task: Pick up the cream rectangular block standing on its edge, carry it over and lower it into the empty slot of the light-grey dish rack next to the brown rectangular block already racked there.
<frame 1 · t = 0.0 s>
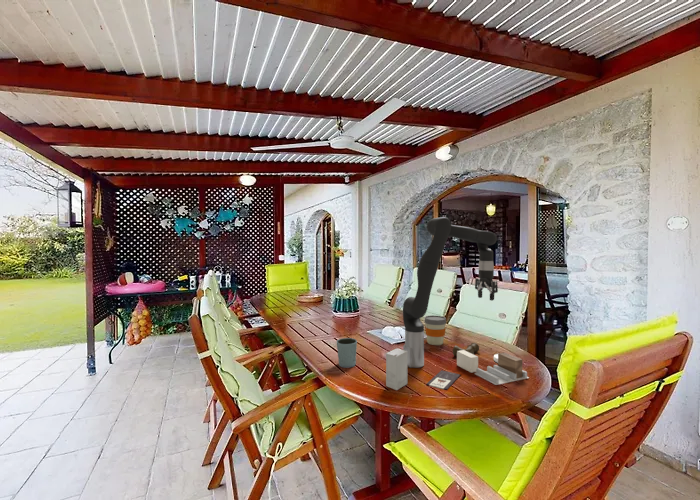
hand: (485, 298, 188), 29 cm above the table, tool pointing down, fingers open, 8 cm apart
kendama: (466, 356, 185), on the table
dish rack: (501, 377, 156), on the table
skincare box: (396, 386, 149), on the table
cream rectangular block: (467, 370, 165), on the table
white round tin: (504, 364, 174), on the table
brown rectangular block: (509, 373, 158), resting on dish rack
reusable coffee cup: (435, 343, 207), on the table
chocolate bar: (443, 381, 154), on the table
grey cup: (346, 364, 174), on the table
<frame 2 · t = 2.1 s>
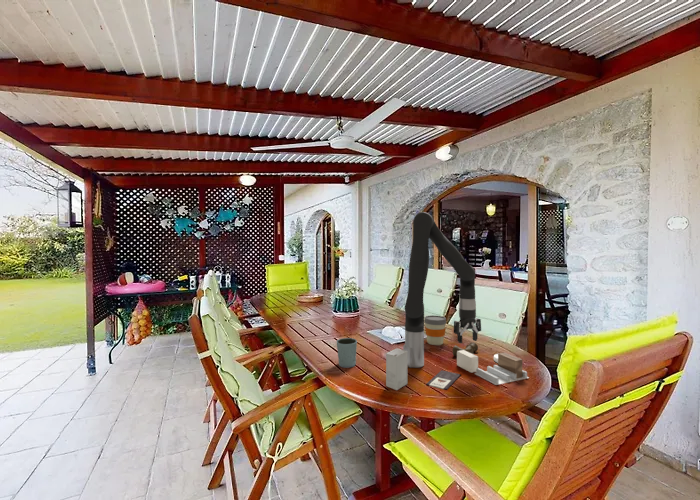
hand: (467, 341, 164), 14 cm above the table, tool pointing down, fingers open, 8 cm apart
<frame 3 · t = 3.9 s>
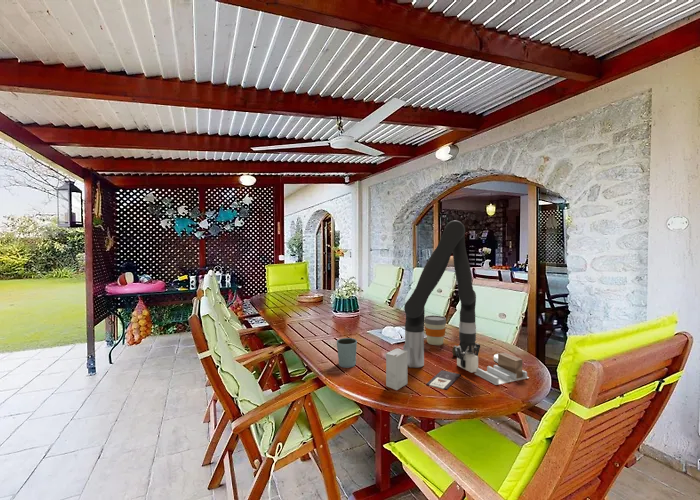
hand: (467, 366, 165), 2 cm above the table, tool pointing down, fingers closed on cream rectangular block, 4 cm apart
cream rectangular block: (467, 370, 165), on the table, touching gripper
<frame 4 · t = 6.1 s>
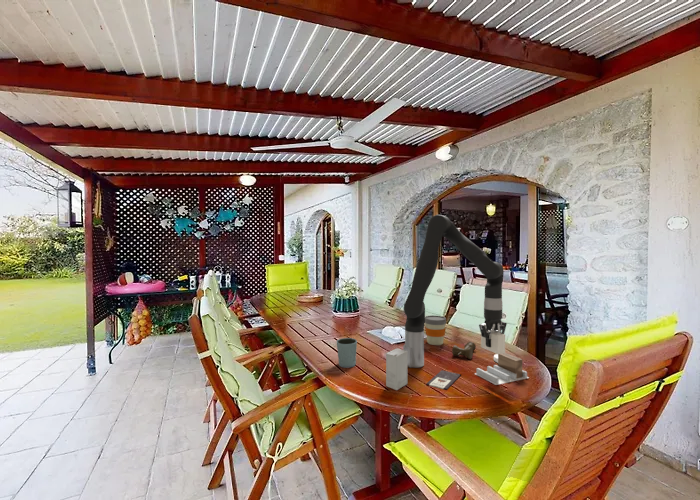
hand: (492, 345, 154), 15 cm above the table, tool pointing down, fingers closed on cream rectangular block, 4 cm apart
cream rectangular block: (492, 350, 154), point 13 cm above the table, touching gripper
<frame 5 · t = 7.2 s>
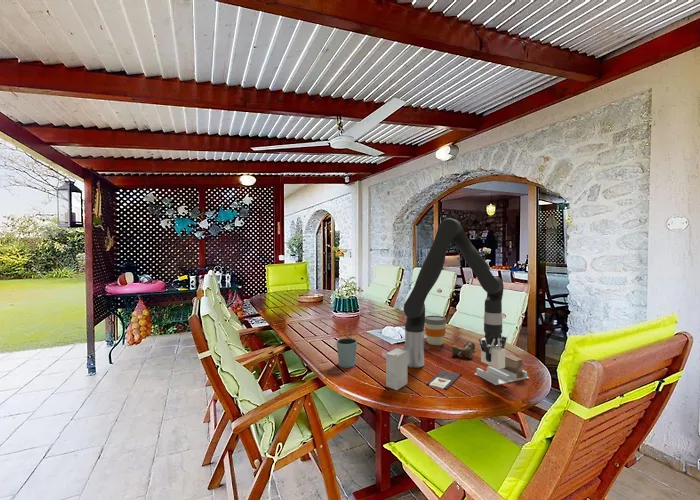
hand: (492, 360, 154), 9 cm above the table, tool pointing down, fingers closed on cream rectangular block, 4 cm apart
cream rectangular block: (492, 364, 154), point 7 cm above the table, touching gripper
when the fingers open (4 cm above the table, at t = 8.3 s): cream rectangular block drops 2 cm, resting on dish rack.
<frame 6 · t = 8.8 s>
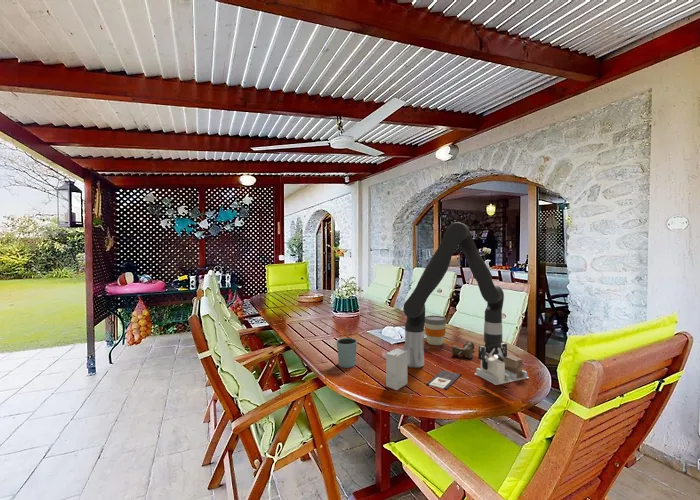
hand: (492, 367, 154), 5 cm above the table, tool pointing down, fingers open, 8 cm apart
cream rectangular block: (492, 377, 154), point 1 cm above the table, touching dish rack
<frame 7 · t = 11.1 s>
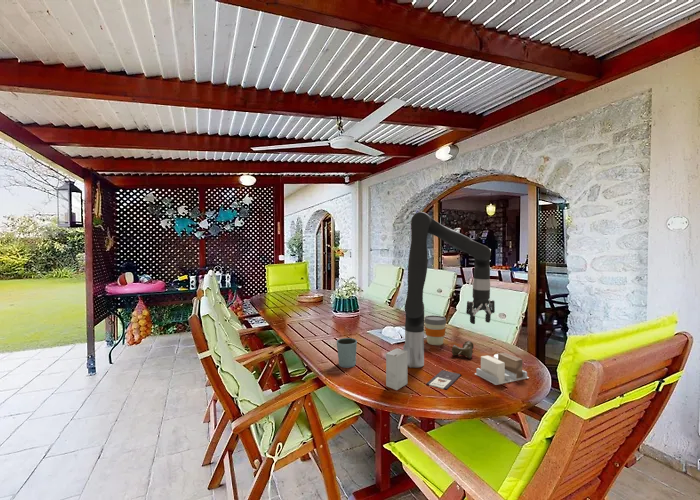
hand: (480, 322, 162), 23 cm above the table, tool pointing down, fingers open, 8 cm apart
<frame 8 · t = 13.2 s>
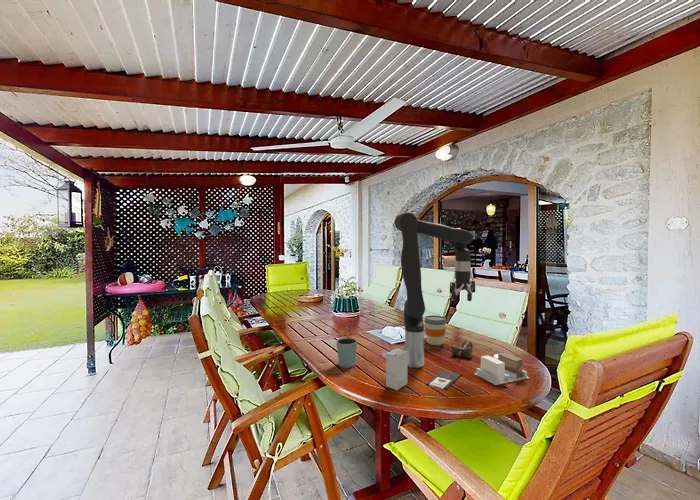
hand: (462, 301, 177), 30 cm above the table, tool pointing down, fingers open, 8 cm apart
at the end: cream rectangular block 0.1 cm from the target spot on the dish rack, point 1.0 cm above the dish rack's base; cream rectangular block tilted 0°; the gripper is holding nothing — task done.
